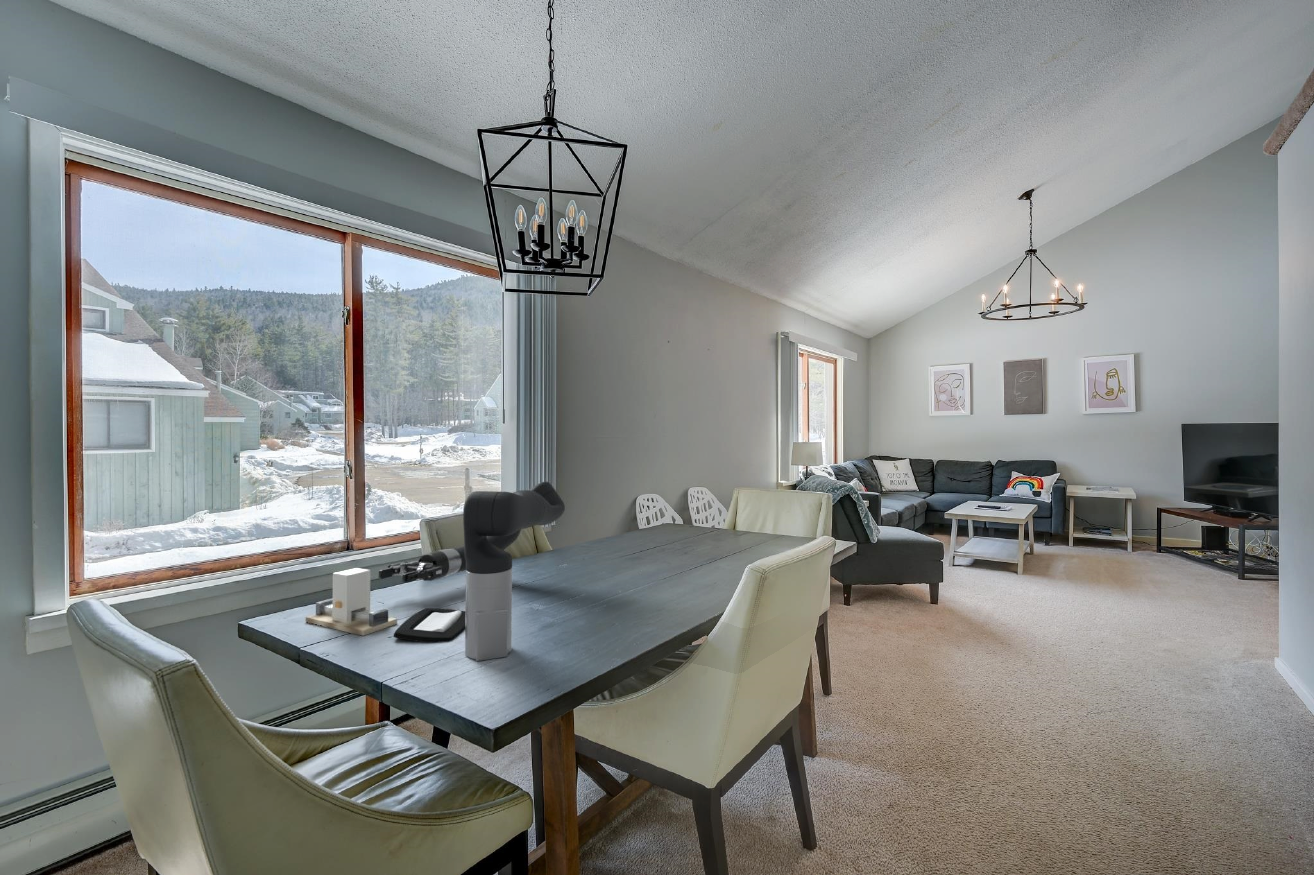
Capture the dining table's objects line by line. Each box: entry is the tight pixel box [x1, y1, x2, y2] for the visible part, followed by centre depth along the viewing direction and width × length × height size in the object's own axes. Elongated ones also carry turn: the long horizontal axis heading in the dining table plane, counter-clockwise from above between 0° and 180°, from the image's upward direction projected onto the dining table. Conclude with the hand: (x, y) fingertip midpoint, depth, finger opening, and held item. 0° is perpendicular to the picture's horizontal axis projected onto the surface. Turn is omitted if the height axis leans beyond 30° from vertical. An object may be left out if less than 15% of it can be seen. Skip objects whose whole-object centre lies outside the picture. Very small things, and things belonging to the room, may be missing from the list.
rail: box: [315, 597, 389, 627], centre depth 136 cm, size 20×4×3 cm, turn 65°
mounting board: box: [305, 613, 398, 637], centre depth 136 cm, size 20×9×1 cm, turn 65°
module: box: [332, 567, 371, 623], centre depth 136 cm, size 5×7×11 cm
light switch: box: [393, 607, 466, 643], centre depth 134 cm, size 20×3×14 cm
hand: (391, 576), depth 146 cm, fingers open, 8 cm apart
